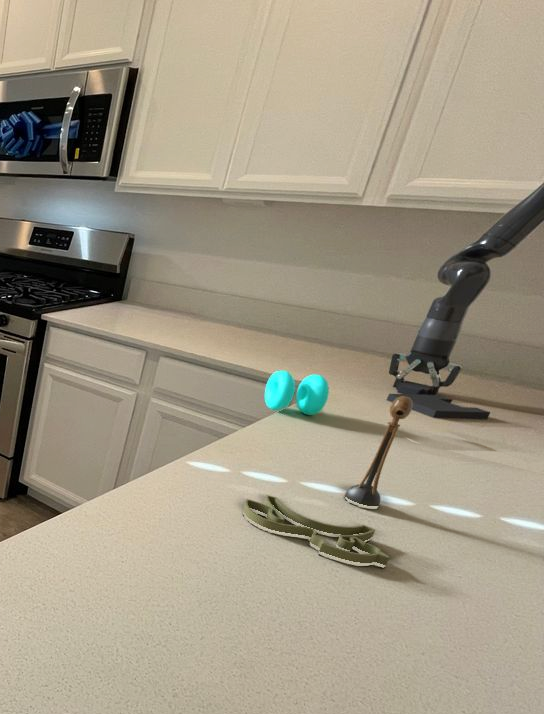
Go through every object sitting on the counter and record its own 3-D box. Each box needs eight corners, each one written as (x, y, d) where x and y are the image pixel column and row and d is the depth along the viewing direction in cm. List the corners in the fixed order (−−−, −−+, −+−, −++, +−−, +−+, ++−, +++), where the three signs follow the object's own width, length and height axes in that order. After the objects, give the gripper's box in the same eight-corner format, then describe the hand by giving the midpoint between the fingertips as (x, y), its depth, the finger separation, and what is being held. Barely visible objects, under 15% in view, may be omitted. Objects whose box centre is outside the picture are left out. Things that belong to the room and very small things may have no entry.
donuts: (321, 421, 139) (336, 382, 136) (272, 414, 142) (286, 376, 139) (304, 407, 148) (317, 370, 145) (258, 401, 151) (270, 365, 148)
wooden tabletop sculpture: (375, 515, 99) (423, 405, 92) (340, 503, 102) (384, 396, 95) (379, 503, 102) (425, 397, 95) (345, 493, 105) (388, 389, 98)
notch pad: (434, 407, 153) (439, 395, 152) (484, 425, 142) (490, 412, 141) (383, 406, 153) (389, 393, 151) (430, 424, 141) (436, 410, 140)
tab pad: (400, 392, 165) (405, 380, 164) (429, 398, 160) (434, 386, 159) (389, 396, 160) (394, 384, 159) (418, 404, 155) (424, 391, 154)
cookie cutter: (386, 544, 90) (391, 533, 89) (383, 578, 82) (388, 566, 81) (249, 499, 102) (252, 489, 101) (234, 525, 93) (237, 514, 93)
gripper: (479, 341, 151) (451, 401, 157) (406, 328, 162) (383, 385, 168) (471, 344, 147) (443, 405, 153) (397, 331, 159) (374, 389, 165)
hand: (412, 394), depth 161 cm, fingers closed on tab pad, 6 cm apart
